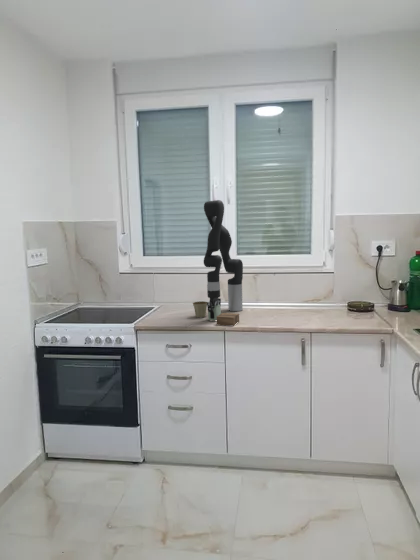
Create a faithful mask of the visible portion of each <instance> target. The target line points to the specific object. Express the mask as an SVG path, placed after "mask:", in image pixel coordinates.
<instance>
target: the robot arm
mask: <svg viewBox="0 0 420 560" xmlns="http://www.w3.org/2000/svg"><path fill="white" fill-rule="evenodd" d="M203 211H204V214H205V217H206V219H207V220H208V223H209V226H210V228H211V229H210V231H209V233H208V235H207V242H206V243H207V247H206V252H205V255H204V257H203V265H204V267H205V268H214V270H211V271H208V272H207V273H206V276H207V277H206V278H207V282H206V283H207V285H206V288H207V293H206V295H207V298H208V299H209V301H206V302H207V313H208V312H210V318H211V319H214V308H215V306H216V305H221V302H222V300H221V299H222V298H220V297H221V284H220V283H221V281H220V271H221V266H222V263H223V267H224V270H225V272H226V273H227V274H234V276H232V278H231V277H230V278H228V279H227V301H228V302H227V303H228V304H227V306H228V311H229V310H230V312H241V311H243V279H244V277H243V273H244V272H243V271H244V265H243V261H242V260H241V259H239V258H232V257H231V255H230V250H231V247H232V244H233V240H232V237H231V233H230V231H229V230H228V229H227V228H226V226H224V225H223V220H224V213H225V204H224V202H223V201H222V200H220V199H217V200H208V201H205V202H204V204H203ZM218 251H219V252H220V255H219V254H213V253H216V252H218ZM212 306H214V307H212ZM209 308H210V309H209ZM212 308H213V309H212Z"/></svg>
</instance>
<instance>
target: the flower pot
mask: <svg viewBox="0 0 420 560" xmlns="http://www.w3.org/2000/svg"><path fill="white" fill-rule="evenodd" d="M207 302H208V301H205V300H204V301H202V300H201V301H194V302H192V306H193V308H194V309H193V310H194V313H195V317H196V318H198V317H202V318H206V317H207V309H208V307H207ZM205 316H206V317H205Z"/></svg>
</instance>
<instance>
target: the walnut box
mask: <svg viewBox="0 0 420 560" xmlns="http://www.w3.org/2000/svg"><path fill="white" fill-rule="evenodd" d="M237 322H238V323H240V314H239V313H235V312H234V313H232V312H221V314H220V315H218V316H217V321H216V325H217V324H220V325H219V326H226V325H233V326H232V327H234V326H235V324H236V323H237ZM238 323H237V324H238ZM237 324H236V325H237Z"/></svg>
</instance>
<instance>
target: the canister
mask: <svg viewBox="0 0 420 560" xmlns="http://www.w3.org/2000/svg"><path fill="white" fill-rule="evenodd" d="M212 307H214V306H212ZM209 309H210V308H209ZM212 309H213V308H212ZM207 314H208V315H207V317H208V318H207V319H208V320H217V316H218V315H220V314H222V312H221V305H216V306H215V308H214V319H211V318H210V312H208V311H207ZM208 320H207V321H208Z"/></svg>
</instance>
